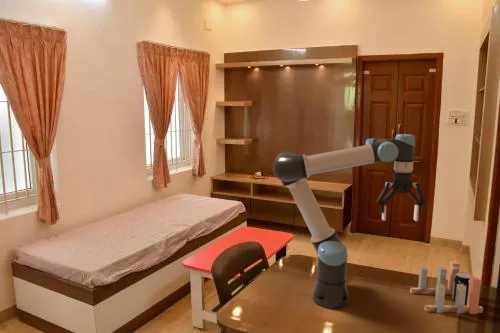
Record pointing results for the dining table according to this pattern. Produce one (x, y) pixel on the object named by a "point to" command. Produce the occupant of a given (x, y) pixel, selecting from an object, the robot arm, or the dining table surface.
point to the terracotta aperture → (472, 291)
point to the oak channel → (446, 307)
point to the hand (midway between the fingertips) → (399, 220)
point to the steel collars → (443, 290)
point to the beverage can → (461, 279)
